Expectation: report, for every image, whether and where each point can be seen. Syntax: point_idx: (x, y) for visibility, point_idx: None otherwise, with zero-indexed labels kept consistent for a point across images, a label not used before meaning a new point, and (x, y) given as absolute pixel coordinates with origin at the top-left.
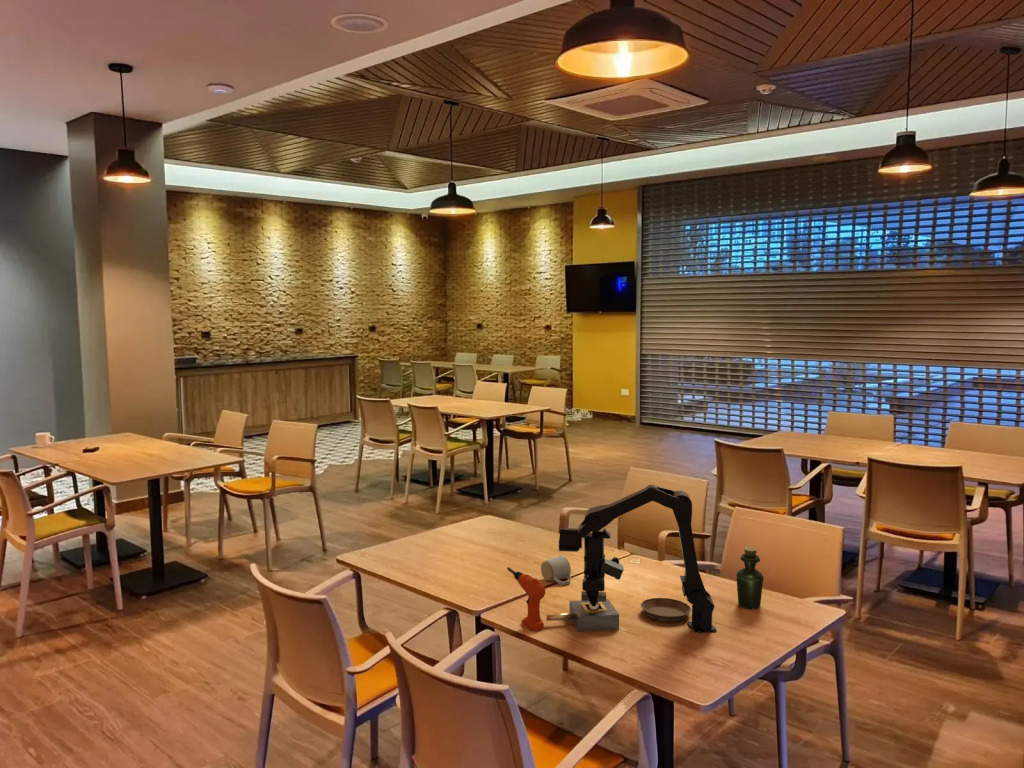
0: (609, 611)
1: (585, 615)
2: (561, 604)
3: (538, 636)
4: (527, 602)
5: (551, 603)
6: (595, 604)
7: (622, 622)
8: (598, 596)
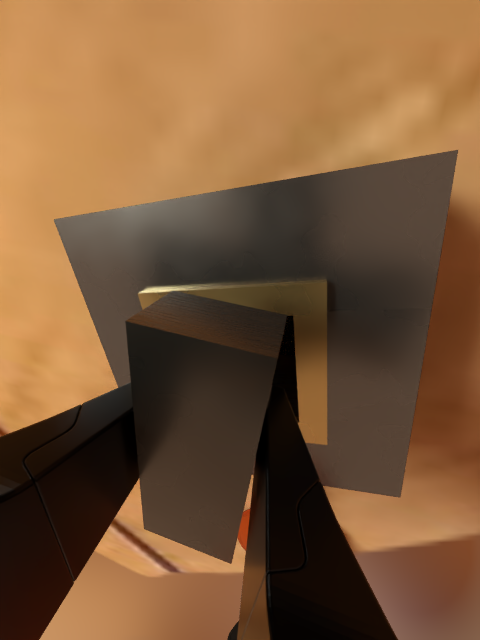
0: (337, 258)
1: (389, 456)
2: (83, 398)
3: (384, 541)
4: (236, 635)
5: None
6: (288, 402)
7: (265, 124)
8: (259, 435)
